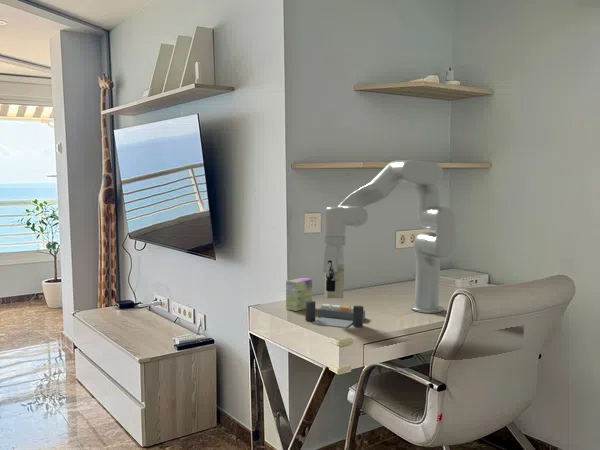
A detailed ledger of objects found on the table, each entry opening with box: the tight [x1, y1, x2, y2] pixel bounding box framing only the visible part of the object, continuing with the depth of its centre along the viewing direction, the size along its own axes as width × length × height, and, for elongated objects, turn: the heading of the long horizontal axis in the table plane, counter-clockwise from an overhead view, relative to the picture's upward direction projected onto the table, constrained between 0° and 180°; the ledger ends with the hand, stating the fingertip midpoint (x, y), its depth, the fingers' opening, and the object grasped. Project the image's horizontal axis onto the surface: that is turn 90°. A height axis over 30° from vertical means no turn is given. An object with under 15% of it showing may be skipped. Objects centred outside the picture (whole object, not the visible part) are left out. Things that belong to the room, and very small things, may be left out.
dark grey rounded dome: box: [305, 300, 316, 323], centre depth 207 cm, size 4×4×7 cm
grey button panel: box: [312, 303, 366, 329], centre depth 207 cm, size 16×17×4 cm
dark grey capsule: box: [352, 305, 364, 328], centre depth 200 cm, size 4×4×7 cm
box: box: [285, 277, 313, 312], centre depth 226 cm, size 10×6×12 cm, turn 141°
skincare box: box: [324, 264, 345, 299], centre depth 202 cm, size 6×4×12 cm
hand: (334, 288), depth 203 cm, fingers closed on skincare box, 6 cm apart
